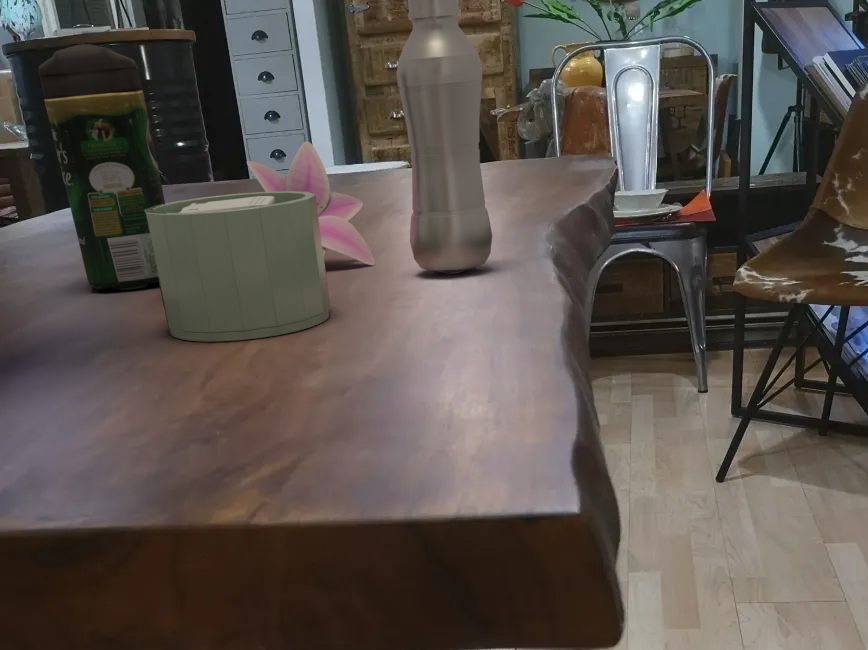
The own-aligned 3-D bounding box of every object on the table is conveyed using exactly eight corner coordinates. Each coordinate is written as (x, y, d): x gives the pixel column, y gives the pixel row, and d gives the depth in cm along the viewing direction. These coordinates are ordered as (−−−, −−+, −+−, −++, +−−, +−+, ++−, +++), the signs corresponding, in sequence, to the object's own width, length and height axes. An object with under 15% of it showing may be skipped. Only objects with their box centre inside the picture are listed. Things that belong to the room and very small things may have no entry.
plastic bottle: (424, 266, 94) (399, -5, 84) (501, 263, 92) (485, -13, 83) (403, 280, 88) (375, -8, 79) (486, 277, 87) (466, -17, 78)
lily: (232, 298, 93) (258, 191, 86) (216, 226, 100) (238, 123, 93) (367, 323, 98) (400, 224, 92) (342, 253, 105) (371, 157, 99)
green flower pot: (147, 346, 73) (120, 218, 69) (197, 311, 83) (175, 197, 79) (312, 336, 72) (293, 206, 68) (342, 302, 82) (328, 187, 78)
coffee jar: (93, 279, 101) (40, 49, 92) (180, 269, 102) (136, 42, 94) (83, 296, 93) (24, 46, 84) (179, 286, 94) (130, 38, 85)
